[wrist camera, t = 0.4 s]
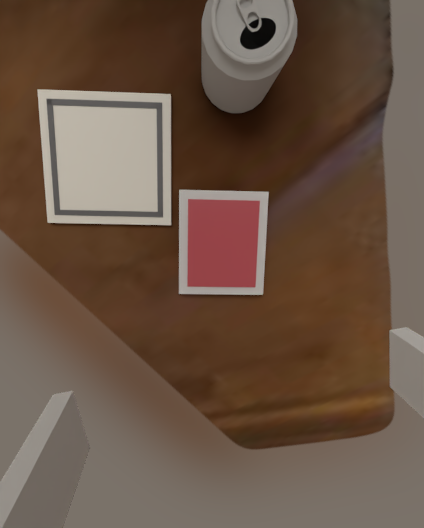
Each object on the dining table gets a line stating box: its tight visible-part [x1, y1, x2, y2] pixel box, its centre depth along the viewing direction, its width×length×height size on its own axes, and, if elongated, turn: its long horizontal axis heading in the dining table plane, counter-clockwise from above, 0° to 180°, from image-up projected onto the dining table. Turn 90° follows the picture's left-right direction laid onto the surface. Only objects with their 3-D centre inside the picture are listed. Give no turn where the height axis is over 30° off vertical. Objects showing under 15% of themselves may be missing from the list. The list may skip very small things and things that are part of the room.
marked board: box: [37, 89, 172, 225], centre depth 35 cm, size 14×14×1 cm
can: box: [201, 0, 297, 113], centre depth 29 cm, size 8×8×12 cm
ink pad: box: [179, 190, 269, 295], centre depth 37 cm, size 12×10×2 cm
